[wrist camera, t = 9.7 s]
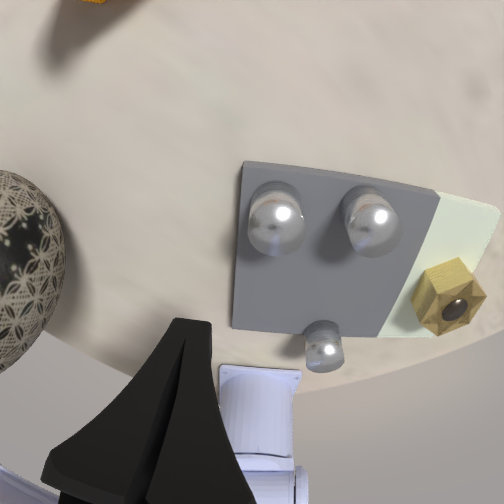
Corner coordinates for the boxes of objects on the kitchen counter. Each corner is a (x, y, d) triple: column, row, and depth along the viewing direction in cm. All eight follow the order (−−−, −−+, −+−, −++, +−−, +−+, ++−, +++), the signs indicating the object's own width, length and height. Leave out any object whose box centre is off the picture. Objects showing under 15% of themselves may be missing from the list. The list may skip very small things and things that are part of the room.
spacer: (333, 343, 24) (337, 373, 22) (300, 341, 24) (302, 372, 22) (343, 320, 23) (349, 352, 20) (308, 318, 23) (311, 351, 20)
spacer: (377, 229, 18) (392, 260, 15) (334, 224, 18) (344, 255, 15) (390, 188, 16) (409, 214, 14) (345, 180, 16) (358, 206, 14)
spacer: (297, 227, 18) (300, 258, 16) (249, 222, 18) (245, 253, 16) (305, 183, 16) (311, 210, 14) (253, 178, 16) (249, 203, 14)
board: (429, 328, 25) (432, 337, 24) (233, 319, 25) (232, 328, 24) (494, 206, 17) (501, 213, 16) (244, 160, 17) (242, 166, 16)
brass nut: (450, 313, 22) (460, 336, 20) (402, 312, 22) (411, 337, 20) (481, 259, 19) (496, 281, 16) (432, 253, 19) (447, 278, 16)
